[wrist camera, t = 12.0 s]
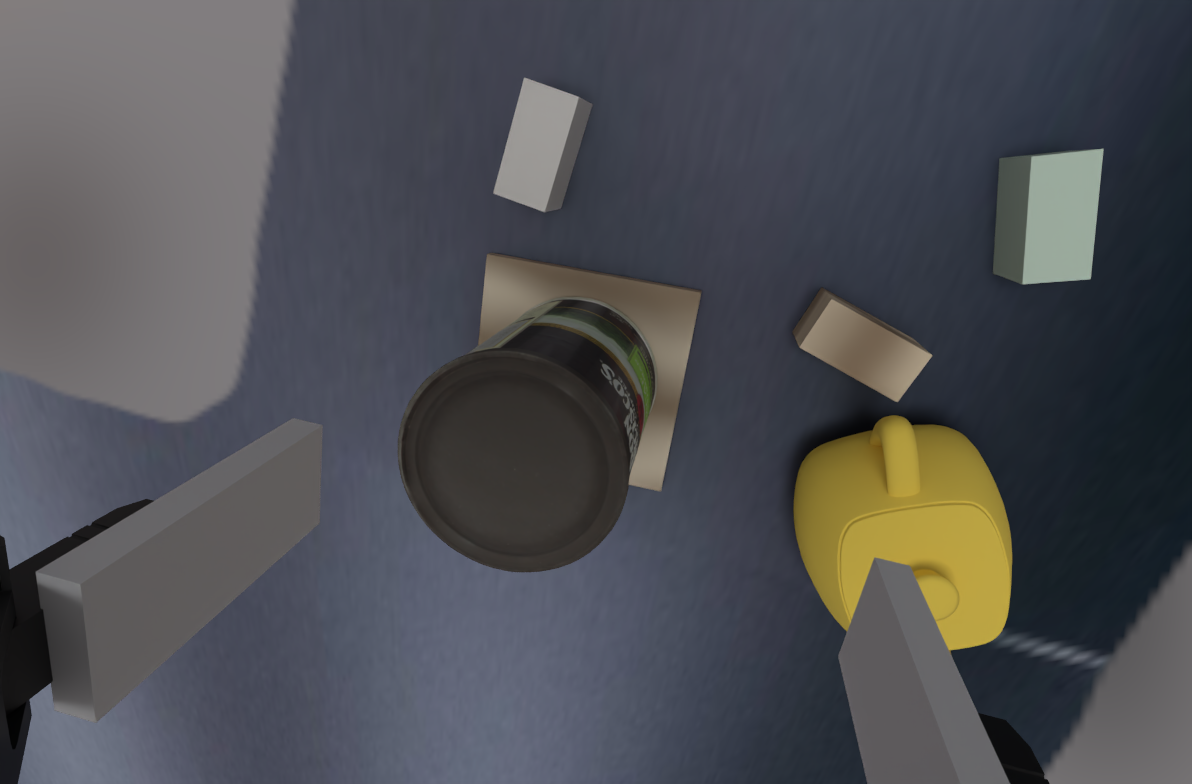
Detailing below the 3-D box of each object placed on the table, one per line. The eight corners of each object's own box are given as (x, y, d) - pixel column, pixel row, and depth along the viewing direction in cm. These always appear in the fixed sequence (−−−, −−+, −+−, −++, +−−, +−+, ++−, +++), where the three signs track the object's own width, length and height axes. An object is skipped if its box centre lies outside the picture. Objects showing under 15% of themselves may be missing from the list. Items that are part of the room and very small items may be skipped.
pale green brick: (998, 158, 36) (1031, 156, 32) (1062, 151, 35) (1103, 148, 31) (992, 273, 37) (1022, 284, 34) (1052, 268, 37) (1090, 279, 33)
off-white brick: (543, 87, 39) (524, 77, 35) (592, 104, 38) (579, 97, 35) (514, 191, 41) (493, 193, 37) (561, 208, 40) (544, 212, 37)
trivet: (491, 252, 42) (486, 254, 41) (701, 290, 40) (701, 292, 40) (472, 445, 46) (468, 449, 45) (662, 486, 45) (660, 491, 44)
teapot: (996, 621, 43) (1079, 756, 33) (818, 640, 46) (844, 771, 36) (961, 353, 39) (1045, 416, 29) (766, 391, 42) (780, 461, 31)
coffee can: (650, 286, 40) (614, 343, 27) (664, 450, 43) (639, 573, 30) (483, 301, 42) (374, 360, 29) (508, 456, 45) (419, 574, 32)
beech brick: (792, 331, 40) (799, 347, 37) (821, 286, 39) (831, 298, 35) (880, 381, 40) (897, 402, 36) (912, 338, 39) (932, 355, 35)
